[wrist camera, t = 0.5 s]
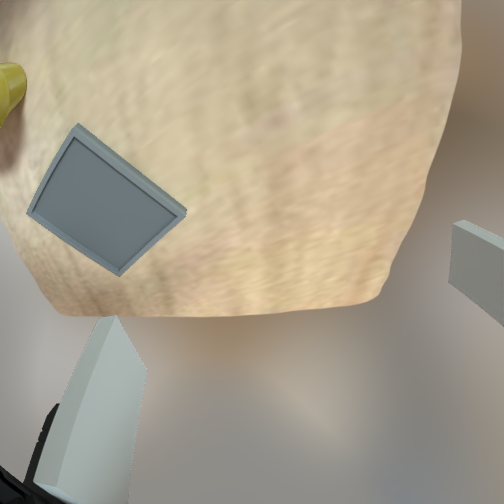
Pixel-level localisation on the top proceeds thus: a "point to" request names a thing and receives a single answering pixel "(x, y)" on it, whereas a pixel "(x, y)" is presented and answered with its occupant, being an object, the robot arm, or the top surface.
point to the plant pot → (10, 88)
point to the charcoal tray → (102, 203)
